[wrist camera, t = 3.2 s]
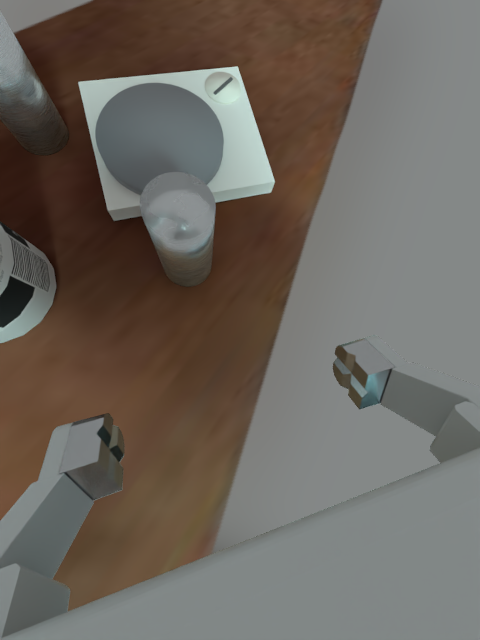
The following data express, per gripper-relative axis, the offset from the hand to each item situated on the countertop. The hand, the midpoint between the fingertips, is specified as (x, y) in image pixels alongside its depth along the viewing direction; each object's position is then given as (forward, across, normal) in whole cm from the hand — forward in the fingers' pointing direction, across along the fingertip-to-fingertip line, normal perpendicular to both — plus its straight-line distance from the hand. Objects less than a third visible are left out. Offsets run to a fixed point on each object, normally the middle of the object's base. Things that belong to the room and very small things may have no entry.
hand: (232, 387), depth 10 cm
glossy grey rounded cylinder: (+15, 0, +2) cm, 16 cm away
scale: (+23, -2, -6) cm, 24 cm away
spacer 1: (+25, +9, -8) cm, 28 cm away
